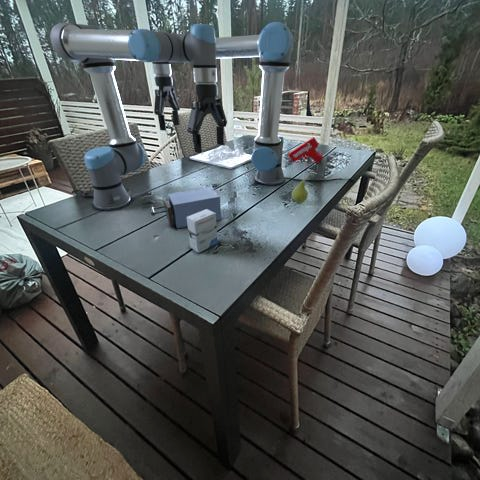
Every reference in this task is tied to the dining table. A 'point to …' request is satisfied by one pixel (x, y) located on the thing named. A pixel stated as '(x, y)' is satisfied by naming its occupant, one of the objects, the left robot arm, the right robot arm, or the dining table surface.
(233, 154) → the relief map
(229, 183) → the dining table surface
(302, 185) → the fruit
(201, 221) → the ink box
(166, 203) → the drawer
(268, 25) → the right robot arm
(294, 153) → the toy gun
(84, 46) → the left robot arm
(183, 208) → the cabinet
